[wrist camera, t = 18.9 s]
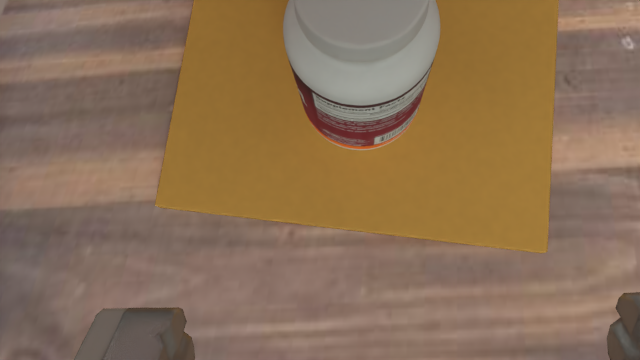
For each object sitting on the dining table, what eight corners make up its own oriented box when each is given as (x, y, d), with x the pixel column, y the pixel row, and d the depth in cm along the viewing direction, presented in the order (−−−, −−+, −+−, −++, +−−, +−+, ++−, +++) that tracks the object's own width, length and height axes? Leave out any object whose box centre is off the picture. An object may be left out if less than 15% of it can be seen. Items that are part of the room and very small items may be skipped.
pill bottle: (317, 34, 30) (293, -113, 19) (429, 54, 29) (470, -87, 18) (290, 141, 29) (250, 49, 18) (406, 165, 28) (437, 83, 17)
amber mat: (159, 207, 29) (154, 205, 28) (204, -26, 32) (200, -34, 31) (542, 253, 27) (547, 252, 27) (554, 1, 30) (559, -7, 29)
